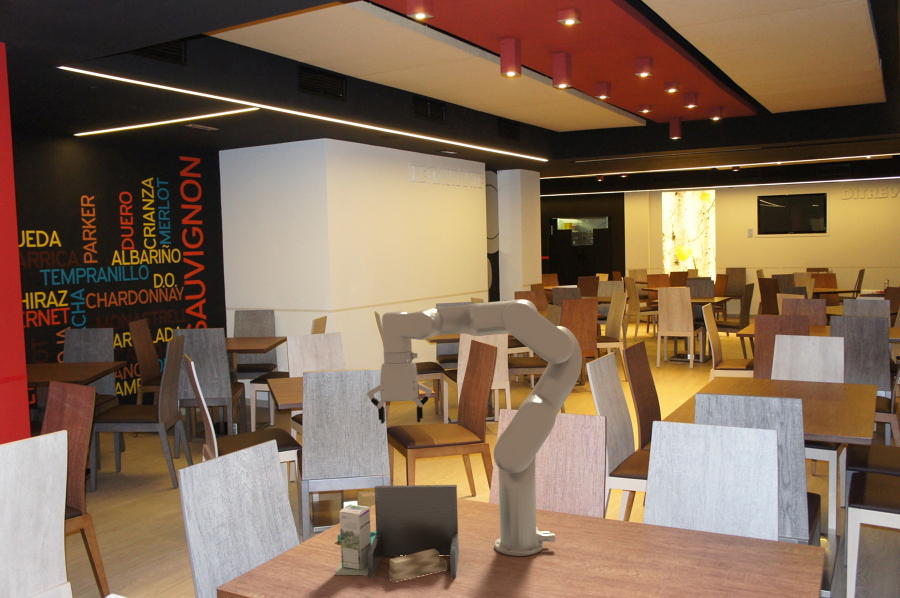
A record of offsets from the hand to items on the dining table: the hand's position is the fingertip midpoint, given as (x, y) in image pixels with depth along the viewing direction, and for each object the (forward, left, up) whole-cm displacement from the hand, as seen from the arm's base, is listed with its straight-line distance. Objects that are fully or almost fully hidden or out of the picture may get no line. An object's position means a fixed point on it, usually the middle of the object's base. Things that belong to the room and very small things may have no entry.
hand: (401, 421), depth 200 cm
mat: (+11, +16, -33) cm, 38 cm away
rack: (-4, +15, -33) cm, 36 cm away
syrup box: (+10, +16, -33) cm, 38 cm away
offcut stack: (-6, +21, -33) cm, 39 cm away
